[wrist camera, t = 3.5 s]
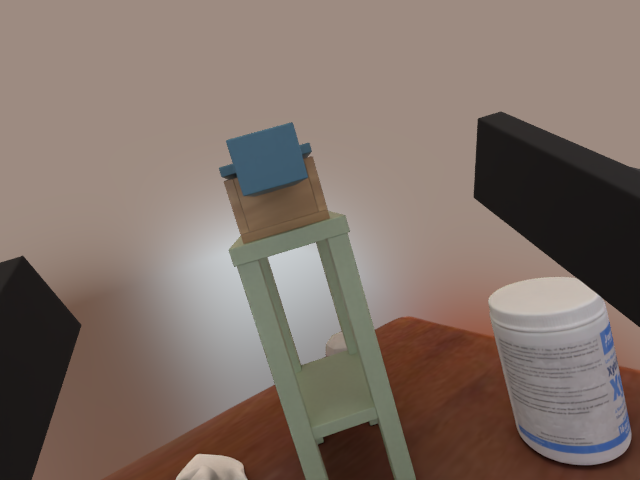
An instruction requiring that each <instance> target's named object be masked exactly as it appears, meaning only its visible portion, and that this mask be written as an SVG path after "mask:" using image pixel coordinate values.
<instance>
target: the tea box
mask: <svg viewBox="0 0 640 480" xmlns="http://www.w3.org/2000/svg"><path fill="white" fill-rule="evenodd" d="M303 160H304V164H305V167H306V170H307V174H308V178H307V179H305V180H303V181H301V182H300V183H298V184H296V185H294V186H290V187H287V188H283V189H280V190H276V191H273V192H269V193H266V194H262V195H259V196H255V197H251V196H243V194H242V191H241V188H240V185H239V181H238V178H234V179H230V180H226V181H224V184H225V187H226V190H227V194H228V197H229V200H230V203H231V206H232V209H233V212H234V215H235V219H236V222H237V225H238V228H239V231H240V234H241V238H242V241H243V244H246V243H249V242H252V241H256V240H259V239H262V238H266V237H269V236H273V235H276V234H279V233H283V232H286V231H289V230H293V229H296V228H299V227H303V226H306V225H309V224H313V223H316V222H320V221H323V220H326V219H330V216H329V212H328V210H327V206H326V202H325V199H324V195H323V192H322V188H321V185H320V181H319V177H318V174H317V170H316V167H315V163H314V160H313V157H308V158H304V159H303Z"/></svg>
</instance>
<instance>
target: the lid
mask: <svg viewBox="0 0 640 480" xmlns="http://www.w3.org/2000/svg"><path fill="white" fill-rule="evenodd" d="M226 143H227V146H228V149H229V153H230V156H231V159H232V162H233V164H230V165H227V166H223V167H220V168H219V170H220V173H221V176H222V177H223V178H226V179H228V180H230V179H234V178H238V181H239V185H240V188H241V191H242V194H243V196H251V197H255V196H259V195H262V194H266V193H269V192H273V191H276V190H280V189H283V188H287V187H290V186H294V185H296V184H298V183H300V182H301V181H303V180H305V179H307V178H308V174H307V170H306V167H305V164H304V160H303V159H304V158H307V157H308V156H309V154H310V153H311V152H312V151H311V147H310V143H306V144H302V145H299V143H298V139H297V136H296V132H295V129H294V125H293V123H292V122H291V123H287V124H284V125H280V126H276V127H273V128H269V129H265V130H262V131H258V132H254V133H251V134H247V135H243V136H240V137H236V138H233V139H229V140H227V141H226Z"/></svg>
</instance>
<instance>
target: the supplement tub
mask: <svg viewBox="0 0 640 480" xmlns="http://www.w3.org/2000/svg"><path fill="white" fill-rule="evenodd" d="M488 303H489V308H490V317H491V323H492V327H493V331H494V336H495V340H496V344H497V348H498V352H499V356H500V360H501V364H502V368H503V373H504V377H505V381H506V385H507V389H508V393H509V397H510V401H511V405H512V410H513V414H514V418H515V422H516V426H517V430H518V432H519V434H520V436H521V437H522V439H523V440H524V441H525V442H526V443H527V444H528V445H529V446H530V447H531V448H533V449H534V450H535V451H537V452H538V453H540V454H542V455H543V456H545V457H547V458H550V459H552V460H555V461H558V462H562V463H567V464H573V465H596V464H601V463H605V462H609V461H611V460H614V459H616V458H617V457H619V456H620V455H622V454H623V453H624V452H625V451H626V450H627V448H628V447H629V445H630V442H631V429H630V423H629V418H628V413H627V408H626V403H625V397H624V392H623V387H622V382H621V377H620V372H619V367H618V362H617V357H616V353H615V347H614V343H613V337H612V332H611V327H610V322H609V318H608V314H607V309H606V305H605V302H604V301H603V299H602V297H600V296H599V295H598V294H597V293H595V292H594V291H593V290H591V289H590V288H589V287H588V286H586V285H585V284H584V283H582V282H581V281H580V280H579V279H577V278H570V277H569V278H568V277H547V278H537V279H530V280H525V281H520V282H516V283H513V284H510V285H507V286H504V287H502V288H500V289H499V290H497V291H495V292H494V293H493V294H492V295H491V296H490V297H489V301H488Z"/></svg>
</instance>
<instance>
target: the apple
mask: <svg viewBox="0 0 640 480" xmlns="http://www.w3.org/2000/svg"><path fill="white" fill-rule="evenodd" d="M346 350H347V347H346V344H345V340H344V337H343V333H342V331H341V332H339V333H337V334H335V335H332V336H331V338H330V339H329V341H328V342H327V344H326V356H327V357H328V356H331V355H334V354H337V353H340V352H343V351H346Z"/></svg>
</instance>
